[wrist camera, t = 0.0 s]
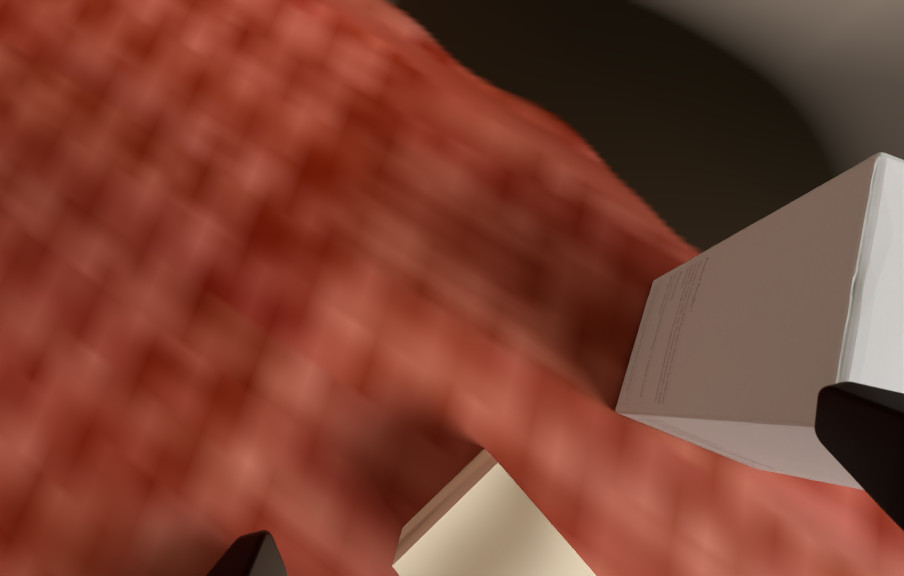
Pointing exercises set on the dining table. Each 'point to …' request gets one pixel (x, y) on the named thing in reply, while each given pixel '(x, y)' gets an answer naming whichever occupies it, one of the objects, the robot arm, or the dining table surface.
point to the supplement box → (778, 326)
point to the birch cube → (484, 531)
